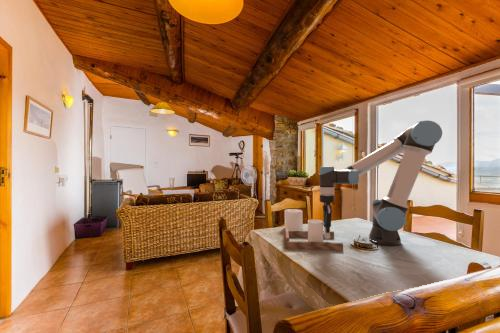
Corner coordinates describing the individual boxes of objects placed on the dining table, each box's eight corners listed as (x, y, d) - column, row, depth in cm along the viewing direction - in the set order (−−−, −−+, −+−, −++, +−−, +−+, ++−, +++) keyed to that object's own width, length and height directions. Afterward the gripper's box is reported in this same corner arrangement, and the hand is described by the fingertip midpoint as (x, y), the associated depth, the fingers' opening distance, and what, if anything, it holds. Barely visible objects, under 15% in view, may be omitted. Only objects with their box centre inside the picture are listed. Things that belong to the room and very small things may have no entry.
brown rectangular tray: (333, 237, 138) (333, 228, 138) (343, 250, 117) (343, 240, 117) (284, 235, 141) (284, 227, 141) (285, 248, 120) (285, 238, 120)
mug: (320, 238, 135) (320, 217, 135) (331, 243, 128) (331, 221, 128) (304, 241, 130) (304, 220, 130) (314, 246, 123) (314, 223, 122)
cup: (284, 230, 152) (284, 212, 152) (284, 226, 164) (284, 208, 163) (303, 231, 150) (303, 212, 150) (302, 226, 162) (302, 209, 161)
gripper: (317, 193, 135) (318, 234, 135) (321, 196, 122) (322, 242, 122) (331, 193, 134) (331, 234, 134) (337, 196, 121) (337, 242, 121)
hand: (327, 238), depth 128 cm, fingers closed
